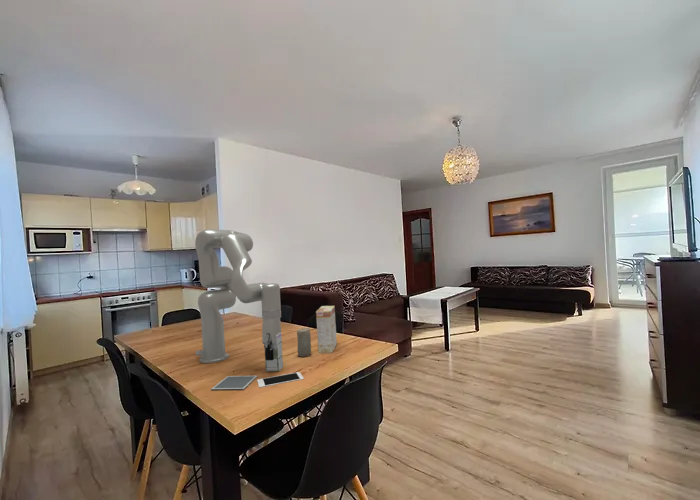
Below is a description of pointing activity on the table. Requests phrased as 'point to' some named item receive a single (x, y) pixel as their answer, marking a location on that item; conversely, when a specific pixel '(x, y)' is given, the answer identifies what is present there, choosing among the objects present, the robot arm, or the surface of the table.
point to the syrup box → (275, 356)
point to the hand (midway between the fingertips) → (273, 356)
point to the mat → (234, 383)
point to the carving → (304, 342)
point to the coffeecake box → (326, 329)
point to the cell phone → (279, 379)
